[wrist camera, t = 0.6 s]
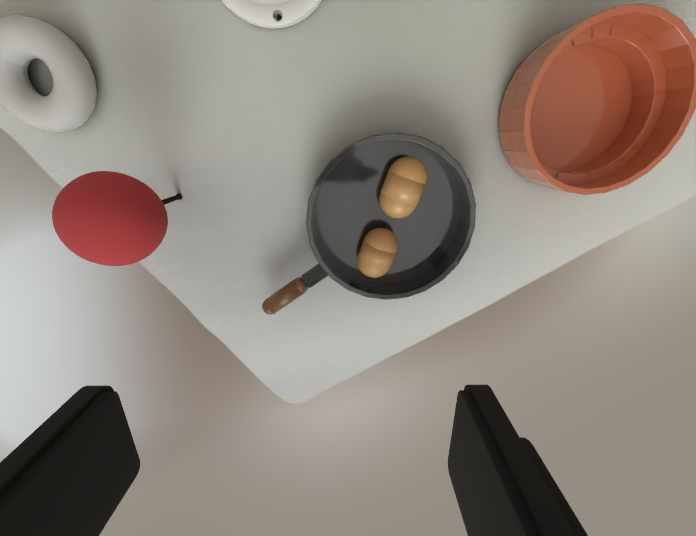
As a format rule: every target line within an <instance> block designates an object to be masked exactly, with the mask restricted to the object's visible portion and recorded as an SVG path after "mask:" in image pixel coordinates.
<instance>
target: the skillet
mask: <svg viewBox="0 0 696 536" xmlns="http://www.w3.org/2000/svg"><path fill="white" fill-rule="evenodd" d="M406 156H410V157H415V158H417V159H419V160H420V161H421V162H422V163H423V164H424V165H425V167H426V170H427V182H426V185H425V187H424V190H423V192H422V195H421V197H420V200H419V202H418V204H417V206H416V208H415V210H414V211H413V212H412V213H411V214H410V215H408V216H407V217H404V218H392V217H390V216H388V215H387V214H385V212H384V211H383V210H382V208H381V206H380V201H379V197H380V192H381V190H382V187H383V184H384V181H385V179H386V176H387V173H388V171H389V169H390V167H391V165H392V164H393V163H394V162H395V161H396V160H398V159H399V158H402V157H406ZM475 209H476V204H475V199H474V195H473V191H472V187H471V183H470V181H469V179H468V177H467V176H466V174H465V172H464V171H463V169H462V167H461V165H460V164H459V162H458V161H457V160H455V159H454V158H453V157H452V156H451V155H450V154H449V153H448V152H447V151H446V150H445V149H444V148H442V147H441V146H439V145H437V144H435V143H433V142H431V141H429V140H427V139H425V138H423V137H420V136H413V135H407V134H401V133H390V134H382V135H373V136H369V137H367V138H364V139H362V140H359V141H357V142H355V143H352V144H350V145H349V146H347V147H346V148H345V149H344V150H342V151H341V152H340V153H338V154H337V155H336V156H335V157H333V158H332V159H331V161H330V162H329V163H328V165H327V166H326V168H325V169H324V170H323V172H322V173H321V174H320V176H319V177H318V178H317V180H316V183H315V185H314V188H313V190H312V193H311V196H310V198H309V201H308V210H307V220H306V225H307V231H308V237H309V243H310V246H311V248H312V250H313V252H314V254H315V257H316V259H317V261H318V263H319V264H320V265H321V266H322V268H323V269H324V270H325V271H326V273H327V274H328V275H329V276H330V277H331V278H332V279H333V280H334V281H336V282H337V283H339V284H340V285H341V286H343V287H344V288H346V289H347V290H349V291H352V292H354V293H357V294H360V295H362V296H365V297H370V298H377V299H386V300H387V299H397V298H405V297H409V296H412V295H415V294H418V293H421V292H424V291H426V290H427V289H429V288H431V287H432V286H434V285H435V284H437V283H439V282H440V281H442V280H443V279H444V278H445V277H446V276H447V275H448V274H449V273H450V272H451V271H452V270H453V269H454V268H455V267H456V266H457V265H458V264H459V262H460V260H461V259H462V257H463V255H464V254H465V252H466V250H467V249H468V246H469V244H470V240H471V237H472V234H473V231H474V227H475ZM375 228H386V229H388V230H390V231H392V232H393V234H394V235H395V236H396V238H397V241H398V249H397V252H396V254H395V257H394V259H393V262H392V264H391V266H390V268H389V270H388V271H387V273H385V274H384V275H383V276H380V277H376V278H372V277H368V276H366V275H364V274H363V273H362V272H361V271H360V269H359V267H358V263H357V258H358V254H359V251H360V249H361V246H362V243H363V240H364V238H365V236H366V235H367V233H369V232H370V231H371V230H373V229H375Z"/></svg>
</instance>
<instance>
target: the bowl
mask: <svg viewBox="0 0 696 536" xmlns="http://www.w3.org/2000/svg"><path fill="white" fill-rule="evenodd" d="M695 108H696V39H695V37H694V36H693V34H692V33H691V32H690V30H689V29H688V27H687V26H686V25H685V23H684V22H683V21H682V20H681V19H680V18H678V17H677V16H675V15H674V14H672V13H670V12H669V11H667V10H666V9H664V8H661V7H656V6H650V5H645V4H633V5H625V6H617V7H613V8H611V9H609V10H606V11H604V12H602V13H599V14H597V15H595V16H592V17H590V18H588V19H586V20H584V21H582V22H580V23H578V24H576V25H574V26H572V27H570V28H568V29H566V30H564V31H561V32H559V33H557V34H555V35H553V36H552V37H550V38H549V39H548V40H546V41H545V42H544V43H542V44H541V45H540V46H538V47H537V48H536V49H534V50H533V51H532V52H531V53H530V55H529V56H528V57H527V58H526V59H525V60H524V62H523V63H522V64H521V65H520V66H519V67H518V69H517V70H516V72H515V74H514V76H513V78H512V79H511V81H510V83H509V85H508V87H507V89H506V91H505V94H504V98H503V101H502V105H501V108H500V115H499V136H500V141H501V146H502V150H503V152H504V154H505V156H506V158H507V160H508V162H509V164H510V165H511V167H512V168H513V169H514V170H515V171H516V172H517V173H519V174H520V175H521V176H522V177H523V178H525V179H527V180H529V181H531V182H533V183H535V184H537V185H541V186H545V187H549V188H553V189H557V190H561V191H565V192H571V193H577V194H583V195H588V194H597V193H606V192H609V191H612V190H615V189H618V188H620V187H623V186H626V185H628V184H630V183H632V182H633V181H635V180H636V179H638V178H640V177H641V176H643V175H645V174H646V173H648V172H649V171H650V170H651V169H652V168H654V167H655V166H656V165H657V164H658V163H659V162H660V161H661V160H662V159H663V158H665V157H666V156H667V155H668V153H669V152H670V151H671V149H672V148H673V147H674V145H675V144H676V143H677V142H678V140H679V139H680V138H681V136H682V135H683V133H684V131H685V129H686V127H687V125H688V123H689V121H690V119H691V117H692V115H693V113H694V110H695Z"/></svg>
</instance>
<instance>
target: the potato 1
mask: <svg viewBox="0 0 696 536" xmlns="http://www.w3.org/2000/svg"><path fill="white" fill-rule="evenodd" d="M397 249H398V241H397V238H396V236H395V235H394V234H393V232H392V231H390V230H388V229H386V228H375V229H373V230H371V231H370V232H369V233H367V235H366V236H365V238H364V240H363V243H362V246H361V249H360V251H359V254H358V258H357V263H358V267H359V269H360V271H361V272H362V273H363V274H364V275H366V276H368V277H372V278H376V277H380V276H383V275H384V274H385V273H387V271H388V270H389V268H390V266H391V264H392V262H393V259H394V257H395V254H396V252H397Z"/></svg>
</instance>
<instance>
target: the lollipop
mask: <svg viewBox="0 0 696 536" xmlns="http://www.w3.org/2000/svg"><path fill="white" fill-rule="evenodd" d="M178 199H179V200H180V199H182V195H181V194H177V195H176V196H173V197H170V198H167V199H164V200H161V199H160V198H159V197H158V195H157V194H156V193H155V192H154V191H153V190H152V189H151V188H150V187H148V186H147V185H146V184H144V183H143V182H141V181H139V180H137V179H135V178H133V177H131V176H128V175H125V174H121V173H117V172H110V171H98V172H92V173H88V174H85V175H82V176H80V177H78V178H76V179H74V180H73V181H71V182H70V183H69V184H67V185H66V186H65V187H64V188H63V189H62V191H61V192H60V193H59V195H58V196H57V198H56V200H55V202H54V206H53V211H52V219H53V224H54V228H55V231H56V233H57V235H58V236H59V238H60V239H61V241H62V242H63V243H64V244H65V245H66V247H68V248H69V249H70V250H71V251H72V252H74V253H75V254H76V255H78V256H80V257H81V258H83V259H86V260H88V261H90V262H94V263H97V264H101V265H108V266H123V265H129V264H132V263H135V262H138V261H140V260H142V259H144V258H146V257H147V256H149V255H150V254H151V253H152V252H153V251H154V250H155V249H156V248H157V247H158V246H159V245H160V243H161V242H162V240H163V238H164V236H165V234H166V230H167V224H168V218H167V212H166V209H165V206H164V205H165V204H167V203H170V202H172V201H175V200H178Z"/></svg>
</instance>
